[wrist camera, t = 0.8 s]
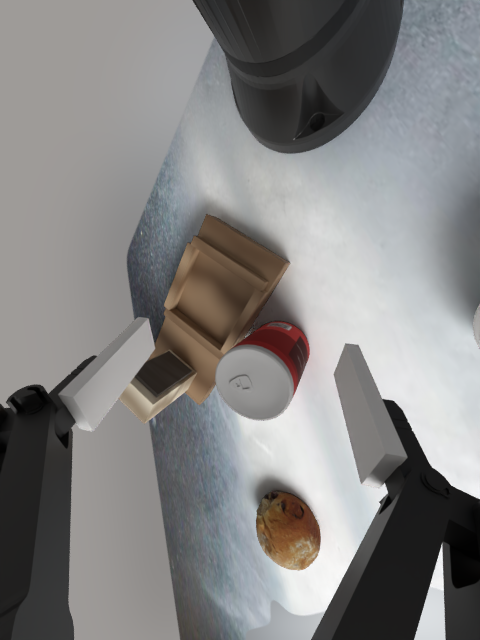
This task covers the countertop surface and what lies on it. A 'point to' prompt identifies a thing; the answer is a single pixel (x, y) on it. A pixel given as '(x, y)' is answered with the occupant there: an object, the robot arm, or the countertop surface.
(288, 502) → the bread roll
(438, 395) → the countertop surface
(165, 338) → the wooden tray stand
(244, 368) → the canned food
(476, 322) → the lidded jar
